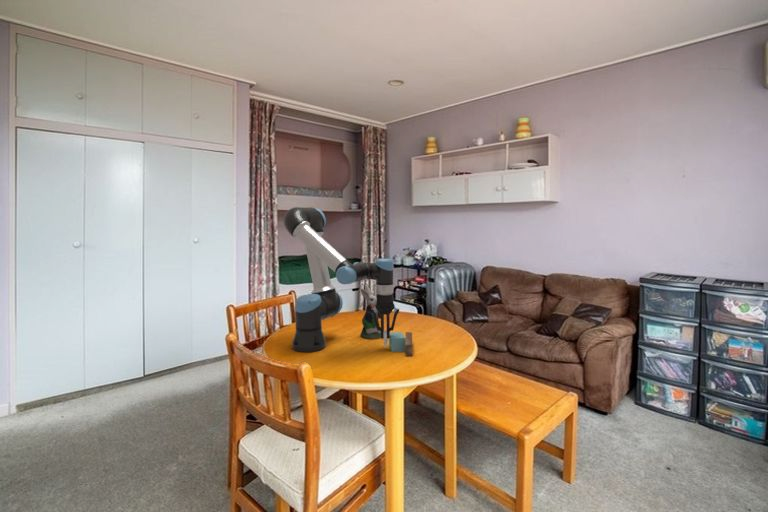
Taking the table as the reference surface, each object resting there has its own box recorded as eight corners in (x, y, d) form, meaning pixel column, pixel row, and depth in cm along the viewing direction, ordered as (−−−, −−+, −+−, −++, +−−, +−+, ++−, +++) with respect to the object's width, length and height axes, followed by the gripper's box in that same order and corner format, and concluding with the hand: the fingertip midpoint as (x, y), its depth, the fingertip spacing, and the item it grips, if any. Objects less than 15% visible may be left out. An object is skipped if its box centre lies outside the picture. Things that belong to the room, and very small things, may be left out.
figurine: (379, 342, 191) (385, 292, 187) (353, 338, 193) (359, 288, 190) (384, 335, 201) (390, 288, 198) (359, 331, 204) (365, 284, 200)
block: (391, 351, 173) (391, 338, 173) (389, 345, 182) (388, 332, 182) (405, 351, 174) (405, 337, 173) (401, 344, 183) (401, 332, 182)
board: (405, 355, 168) (405, 344, 168) (405, 342, 186) (405, 332, 186) (412, 356, 168) (412, 344, 167) (412, 342, 186) (412, 332, 185)
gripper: (369, 295, 172) (370, 348, 174) (399, 295, 171) (399, 348, 173) (371, 292, 179) (371, 342, 182) (399, 292, 178) (400, 343, 181)
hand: (385, 345), depth 177 cm, fingers closed
